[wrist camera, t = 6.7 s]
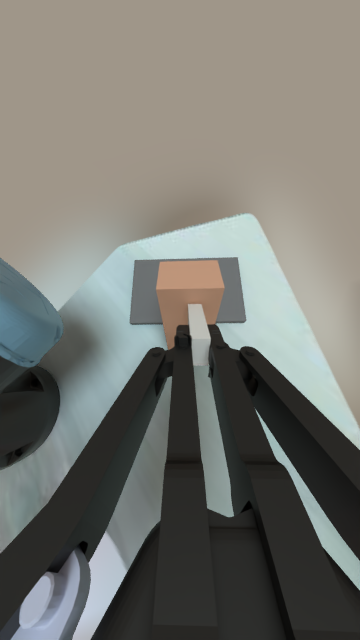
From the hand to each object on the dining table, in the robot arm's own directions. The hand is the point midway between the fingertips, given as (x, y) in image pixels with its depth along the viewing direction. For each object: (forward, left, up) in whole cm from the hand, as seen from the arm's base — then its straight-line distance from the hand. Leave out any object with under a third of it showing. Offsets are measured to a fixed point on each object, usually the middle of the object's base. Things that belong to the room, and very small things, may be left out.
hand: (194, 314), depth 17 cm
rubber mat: (-1, +9, -12) cm, 15 cm away
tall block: (-1, -1, -11) cm, 11 cm away
